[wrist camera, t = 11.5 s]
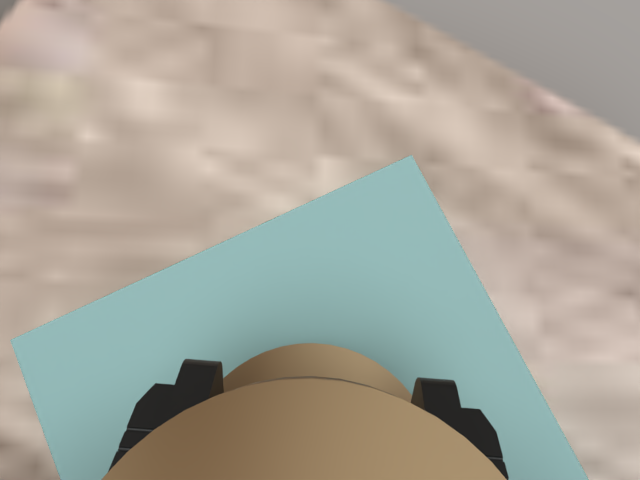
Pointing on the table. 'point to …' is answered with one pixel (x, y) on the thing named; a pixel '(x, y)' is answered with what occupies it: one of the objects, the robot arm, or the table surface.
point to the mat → (298, 323)
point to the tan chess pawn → (306, 427)
